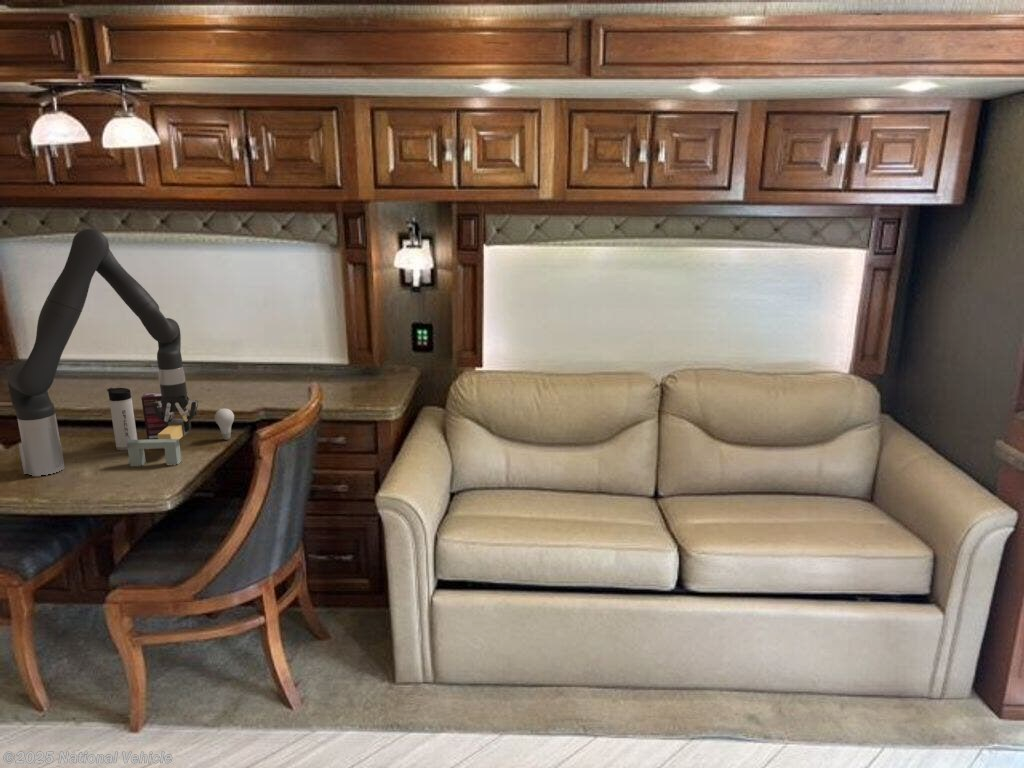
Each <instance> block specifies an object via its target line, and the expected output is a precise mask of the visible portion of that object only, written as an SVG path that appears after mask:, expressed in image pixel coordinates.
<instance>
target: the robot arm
mask: <svg viewBox="0 0 1024 768" xmlns="http://www.w3.org/2000/svg"><path fill="white" fill-rule="evenodd" d="M96 272H97V274H99V275H100V276H101V277H102V279H104V280H105V281H106V282H107V283H108V284H109V286H111V288H112V289H113V290H114V291H115V293H116V294H117V295H118V296H119V298H120V299H121V300H122V301H123V302H124V304H126V306H127V307H128V308H129V309H130V310H131V311H132V312H133V314H134V315H135V316H136V317H138V319H139V320H140V322H141V323H142V325H143V327H144V328H145V329H146V332H147V333H148V334H149V335H150V336H151V337H152V339H153V340H155V341H156V342H157V346H158V349H157V352H156V359H157V360H156V361H157V366H158V367H157V369H158V382H159V389H160V393H161V396H162V399H161V401H156V402H154V403H153V404H152V405H153V408H154V410H155V412H156V414H157V417H158V419H159V420H164V421H165V422H166V427H168V422H170V421H171V417H172V413H173V412H174V413H175V412H176V413H179V414H180V416H181V417H182V419H184V426H185V432H188V431H189V432H190V431H191V429H192V423H191V420H193V419H194V418H195V417H196V416H197V412H198V405H199V400H197V399H195V400H194V399H193V400H191V399H190V398H189V397H188V390H187V383H186V374H185V370H184V366H183V365H184V364H183V358H182V353H181V344H182V343H181V339H182V335H181V329H180V325H179V324H178V322H177V321H176V320H175V319H173V318H171V317H170V318H169V317H165V315H164V314H163V313H162V312H161V310H160V306H159V304H158V303H157V301H156V300H155V299H154V298H153V297H152V296H151V294H150V293H149V292H148V291H147V290H146V289H145V288H144V287H143V285H142V284H140V283H139V282H138V281H137V280H136V279H135V278H134V277H133V276H132V275H131V274H129V272H127V270H126V269H125V268H124V267H123V266H122V265H121V264H120V262H119V261H118V260H117V259H116V256H114V254H113V253H112V251H111V249H110V243H109V241H108V238H107V236H105V234H104V233H102V231H100V230H98V229H95V228H85V229H82V230H80V231H78V232H77V233H76V234H74V237H73V239H72V241H71V247H70V250H69V253H68V256H67V258H66V262H65V265H64V267H63V269H62V271H61V273H60V274H59V276H58V277H57V279H56V281H55V282H54V284H53V286H51V289H50V290H49V293H48V294H47V297H46V298H45V300H44V303H43V305H42V307H41V309H40V313H39V315H38V318H37V324H36V325H37V326H36V333H35V334H36V335H35V341H34V345H33V348H32V349H31V351H30V353H29V355H28V357H27V359H26V360H22V361H18V362H16V363H13V364H12V365H11V366H10V368H9V370H8V372H7V375H6V380H7V387H8V391H9V392H8V393H9V395H10V396H9V397H10V401H11V404H12V407H13V410H14V412H15V413H16V414H15V415H16V419H17V424H18V430H19V434H20V440H21V442H20V443H19V444H18V449H19V455H20V460H21V465H22V471H23V475H24V474H29V475H32V476H31V477H42V476H41V475H46V476H49V475H48V474H51V475H54V474H53V473H55V474H56V472H58V473H60V472H62V471H63V470H65V461H64V456H63V450H62V444H61V439H60V434H59V425H58V420H57V414H56V411H55V410H56V408H55V406H54V403H53V402H52V400H51V398H50V396H49V393H48V390H50V388H51V387H52V385H53V382H54V379H55V378H56V374H57V370H58V366H59V363H60V360H61V357H62V355H63V352H64V350H65V348H66V346H67V344H68V342H69V339H70V338H71V336H72V333H73V331H74V329H75V327H76V326H77V323H78V320H79V318H80V317H81V314H82V312H83V309H84V306H85V304H86V301H87V297H88V293H89V289H90V285H91V281H92V279H93V277H94V274H95V273H96ZM162 405H163V406H164V407H165V408H166V412H165V414H164V412H163V410H162ZM188 405H189V408H190V410H188ZM189 411H190V412H189ZM189 432H188V433H189ZM61 470H62V471H61ZM59 471H60V472H59ZM29 475H28V476H29Z"/></svg>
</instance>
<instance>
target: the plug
mask: <svg viewBox="0 0 1024 768" xmlns="http://www.w3.org/2000/svg"><path fill="white" fill-rule="evenodd" d="M189 432H190V430H189V431H188V432H185V426H184V419H183V418H175V419H172V420H171V421H170V422H168V427H166V428H165V429H164V430H163V431H161V432H160V433H159V434H158V439H179V440H180V439H181V438H183V437H185V436H186V435H187V434H188V433H189Z"/></svg>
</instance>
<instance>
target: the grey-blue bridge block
mask: <svg viewBox="0 0 1024 768" xmlns="http://www.w3.org/2000/svg"><path fill="white" fill-rule="evenodd" d="M127 447H128V450H127V453H128V459H129V460H128V461H129V466H130V467H142V466H144V465H145V464H146V463H147V461H146V454H145V449H147V450H148V449H152V450H153V449H164V454H165V464H166V465H167V464H169V465H170V464H179V463H180V462H181V461H182V453H181V446H180V439H137V440H131V441H129V442H128V443H127ZM145 462H146V463H145ZM144 463H145V464H144ZM181 463H182V462H181ZM181 463H180V464H181ZM180 464H179V465H180ZM141 465H142V466H141Z"/></svg>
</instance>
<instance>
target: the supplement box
mask: <svg viewBox="0 0 1024 768" xmlns="http://www.w3.org/2000/svg"><path fill="white" fill-rule="evenodd" d="M140 399H141V405H142V411H143V412H142V413H143V419H144V424H145V431H146V438H147V439H158V434H159V433H160V432H161V431H163V430H164V429H165V428H166V422H165V421H164V420H159V419H158V417H157V414H156V412H155V410H154V408H153V405H152V404H153V403H154V402H156V401H161V399H162V396H161V392H152V393H143V395H142V396H140ZM162 410H163V412H164V414H165V412H166V408H165V407H164V406H163V405H162ZM172 419H176V416H175V412H173V413H172V417H171V420H172ZM147 439H146V440H147Z"/></svg>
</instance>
